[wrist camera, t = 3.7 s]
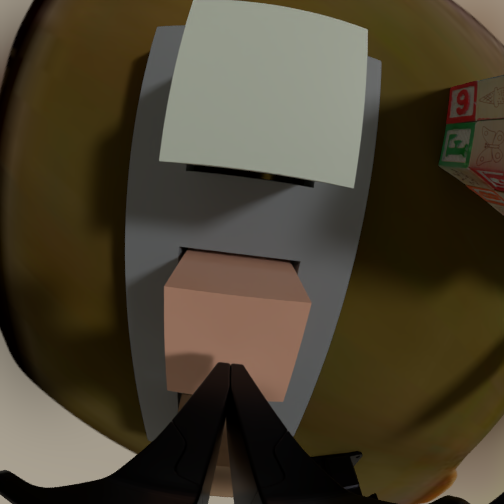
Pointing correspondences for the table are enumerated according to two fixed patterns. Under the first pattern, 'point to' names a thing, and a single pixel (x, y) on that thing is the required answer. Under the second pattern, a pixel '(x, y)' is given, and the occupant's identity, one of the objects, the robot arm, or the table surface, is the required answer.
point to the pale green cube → (267, 92)
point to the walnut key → (218, 464)
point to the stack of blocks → (477, 138)
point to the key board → (232, 236)
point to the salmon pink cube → (233, 319)
